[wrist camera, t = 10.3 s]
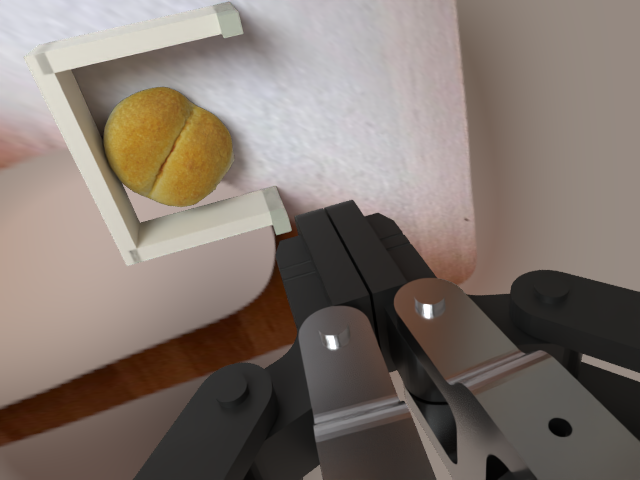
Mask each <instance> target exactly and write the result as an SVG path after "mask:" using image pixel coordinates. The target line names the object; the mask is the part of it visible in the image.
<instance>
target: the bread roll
mask: <svg viewBox="0 0 640 480" xmlns="http://www.w3.org/2000/svg"><path fill="white" fill-rule="evenodd" d="M104 149H105V153H106V157H107V160H108V162H109V165H110V167H111V169H112V170H113V171H114V173H115V174H116V175H117V177H118V178H119V179H120V181H121V182H122V183H123V184H124V185H125V186H126V187H128V188H129V189H130V190H132V191H133V192H136V193H138V194H140V195H142V196H145V197H148V198H150V199H152V200H154V201H156V202H159V203H162V204H165V205H168V206H177V207H184V206H190V205H194V204H196V203H198V202H199V201H200V200H202V199H203V198H205V197H206V196H207V195H209V194H210V193H211V192H213V190H215V189H216V186H217V185H218V184H219V183H220V181H221V180H222V178H223V177H224V175H225V174H226V173H227V172H228V170H229V169H230V167H231V165H232V163H233V161H234V158H235V156H234V153H233V149H232V140H231V136H230V133H229V131H228V130H227V128H226V127H225V126H224V125H223V123H222V122H221V121H220V120H219V119H218V118H217V117H216V116H215V115H213V114H212V113H210V112H208V111H206V110H204V109H202V108H200V107H198V106H196V105H194V104H193V103H191V102H190V101H189V100H188V99H187V98H186V97H185V96H183V95H182V94H181V93H179V92H178V91H175V90H173V89H170V88H167V87H156V88H150V89H147V90H143V91H140V92H137V93H135V94H133V95H131V96H129V97H128V98H126V99H124V100H122V101H121V102H120V103H119V104H117V105H116V107H115V108H114V109H113V111H112V112H111V114H110V116H109V118H108V120H107V123H106V126H105V130H104Z"/></svg>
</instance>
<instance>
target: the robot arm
mask: <svg viewBox="0 0 640 480" xmlns="http://www.w3.org/2000/svg"><path fill="white" fill-rule="evenodd" d="M295 222H296V227H297V231H298V235H299V236H296V237H293V238H289V239H286V240H282V241H280V243H279V246H278V249H277V252H276V259H277V262H278V266H279V270H280V273H281V277H282V280H283V284H284V287H285V291H286V294H287V298H288V301H289V305H290V308H291V311H292V314H293V318H294V321H295V324H296V327H297V337H296V340H295V342H294V344H293V345H292V347H291V348H290V350H289V351H288V352H287V353H286V354H285V355H284V356H283V357H282V358H280V359H279V360H277V361H276V362H274V363H273V364H271V365H269V366H268V367H266V368H265V369H263V368H262V367H260V366H258V365H255V364H251V363H236V364H232V365H228V366H226V367H223V368H221V369H219V370H217V371H216V372H214V373H213V374H212V375H210V376H209V377H208V378H207V379H206V380H205V381H204V382H203V383H202V385H201V386H200V387H199V389H198V390H197V392H196V393H195V394H194V396H193V397H192V399H191V400H190V401H189V403H188V404H187V405H186V407H185V408H184V410H183V411H182V412H181V414H180V415H179V417H178V418H177V420H176V421H175V422H174V424H173V425H172V426H171V428H170V429H169V431H168V432H167V433H166V435H165V436H164V437H163V439H162V440H161V442H160V443H159V444H158V446H157V447H156V449H155V450H154V451H153V453H152V454H151V455H150V457H149V458H148V460H147V461H146V462H145V464H144V465H143V467H142V468H141V469H140V471H139V472H138V474H137V475H136V476H135V478H134V479H133V480H303V477H304V476H305V475H306V474H308V473H309V472H310V471H312V470H313V469H314V468H316V467H317V466H318V465H320V467H321V472H322V477H323V480H436V477H435V475H434V472H433V470H432V467H431V464H430V462H429V459H428V457H427V454H426V451H425V449H424V447H423V444H422V441H421V439H420V436H419V434H418V431H417V428H416V426H415V423H414V421H413V418H412V416H411V413H410V411H409V409H408V407H407V405H406V403H405V402H404V401H400V400H399V398H398V396H397V393H396V390H395V388H394V385H393V383H392V380H391V377H390V374H389V372H393V371H396V370H397V371H398V372H399V374H400V376H401V378H402V380H403V386H404V394H405V398H406V401H407V403H408V405H409V406H410V408H411V410H412V411H413V413H414V414H415V416H416V418H417V420H418V421H419V423H420V425H421V426H422V428H423V430H424V431H425V433H426V435H427V436H428V438H429V439H430V441H431V443H432V445H433V446H434V448H435V450H436V451H437V453H438V454H439V456H440V458H441V459H442V461H443V463H444V464H445V466H446V468H447V469H448V471H449V473H450V475H451V477H452V479H453V480H640V382H638V381H635V380H632V379H629V378H627V377H624V376H621V375H618V374H615V373H612V372H610V371H607V370H604V369H601V368H598V367H595V366H592V365H589V364H587V363H584V362H581V360H582V354H586V355H588V356H592V357H594V358H597V359H600V360H603V361H606V362H609V363H612V364H615V365H618V366H621V367H624V368H627V369H630V370H633V371H635V372H638V373H640V292H637V291H633V290H629V289H626V288H622V287H618V286H614V285H610V284H606V283H602V282H598V281H594V280H591V279H587V278H583V277H579V276H575V275H571V274H567V273H563V272H559V271H552V270H538V271H532V272H528V273H525V274H523V275H521V276H519V277H518V278H517V279H516V280H515V281H514V282H513V284H512V286H511V292H510V294H499V295H482V296H481V295H467V294H466V293H464V291H463V290H462V289H461V288H460V287H458V286H457V285H455V284H454V283H452V282H450V281H447V280H444V279H439V278H437V277H436V276H435V275H434V273H433V272H432V271H431V269H430V268H429V267H428V265H427V264H426V263H425V261H424V260H423V259H422V257H421V256H420V255H419V253H418V252H417V251H416V249H415V248H414V247H413V245H412V244H410V242H409V240H408V239H407V238H406V236H405V235H403V233H402V231H401V230H400V228H399V227H398V226H397V224H396V223H395V222H394V221H393V220H392V219H390V218H388V217H386V216H384V215H382V214H380V213H375V214H372V215H368V216H365V217H364V215H363V214H362V212H361V211H360V209H359V208H358V206H357V205H356V203H355V202H354V201H353V200H349V201H346V202H342V203H339V204H335V205H332V206H328V207H325V208H324V209H323V208H322V209H318V210H315V211H311V212H307V213H304V214H300V215H297V216H295Z"/></svg>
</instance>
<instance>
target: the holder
mask: <svg viewBox="0 0 640 480" xmlns="http://www.w3.org/2000/svg"><path fill="white" fill-rule="evenodd" d="M220 34H222V36H223V38H228V37H232V36H236V35H241V34H244V33H243V29H242V25H241V21H240V17H239V13H238V11H237V10H236V9H235V8H234V7H233V5H232V4H231V3H230V2H226V3H221V4H217V5H213V6H208V7H204V8H199V9H195V10H190V11H186V12H182V13H177V14H173V15H168V16H164V17H159V18H155V19H151V20H146V21H142V22H137V23H133V24H129V25H124V26H120V27H115V28H111V29H106V30H102V31H98V32H93V33H89V34H84V35H80V36H75V37H71V38H67V39H62V40H58V41H53V42H49V43H44V44H40V45H38V46H37V47H36V48H34V49H33V50H32V51H31V52H29V53H28V54H27V55H26V56H24V59H25V61H26V63H27V65H28V67H29V69H30V71H31V73H32V76H33V78H34V80H35V82H36V84H37V86H38V88H39V90H40V92H41V94H42V96H43V98H44V100H45V102H46V104H47V106H48V108H49V110H50V112H51V114H52V116H53V118H54V120H55V122H56V124H57V126H58V128H59V130H60V132H61V134H62V136H63V138H64V140H65V142H66V144H67V146H68V148H69V150H70V152H71V154H72V156H73V158H74V160H75V162H76V164H77V166H78V168H79V171H80V173H81V174H82V177H83V178H84V181H85V183H86V185H87V187H88V189H89V191H90V193H91V195H92V197H93V199H94V201H95V203H96V205H97V207H98V209H99V211H100V213H101V215H102V217H103V219H104V221H105V223H106V225H107V227H108V229H109V231H110V233H111V235H112V237H113V239H114V241H115V243H116V245H117V247H118V249H119V251H120V253H121V255H122V257H123V259H124V261H125V263H126V265H127V266H128V265H132V264H136V263H139V262H143V261H147V260H150V259H154V258H157V257H160V256H164V255H167V254H171V253H175V252H178V251H182V250H185V249H189V248H193V247H196V246H200V245H203V244H207V243H210V242H214V241H217V240H221V239H225V238H228V237H231V236H235V235H239V234H242V233H246V232H249V231H252V230H256V229H260V228H263V227H267V226H271V225H273V227H274V230H275V233H276V235H279V234H282V233H286V232H289V231H292V230H291V226H290V222H289V218H288V215H287V213H286V210H285V208H284V205H283V203H282V200H281V198H280V196H279V193H278V191H277V188H276V186H273V187H270V188H266V189H262V190H259V191H255V192H251V193H248V194H244V195H241V196H237V197H233V198H229V199H226V200H222V201H218V202H215V203H211V204H208V205H204V206H200V207H197V208H193V209H189V210H185V211H182V212H178V213H174V214H171V215H167V216H163V217H160V218H156V219H153V220H149V221H145V222H141V223H140V222H139V220H138V218H137V216H136V213H135V211H134V209H133V207H132V205H131V202H130V200H129V198H128V196H127V193H126V191H125V189H124V187H123V184H122V182H121V181H120V179H119V178H118V177H117V175H116V174H115V173H114V171H113V170H112V169H111V167H110V165H109V162H108V160H107V157H106V153H105V149H104V142H103V140H102V138H101V135H100V133H99V131H98V129H97V126H96V124H95V122H94V120H93V117H92V115H91V113H90V111H89V109H88V106H87V104H86V102H85V100H84V97H83V95H82V93H81V91H80V88H79V86H78V84H77V82H76V79H75V77H74V75H73V73H72V71H71V69H74V68H78V67H82V66H87V65H91V64H95V63H100V62H104V61H108V60H112V59H117V58H121V57H125V56H130V55H134V54H138V53H142V52H147V51H151V50H155V49H160V48H164V47H168V46H173V45H177V44H181V43H185V42H190V41H194V40H198V39H203V38H207V37H211V36H215V35H220Z"/></svg>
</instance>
